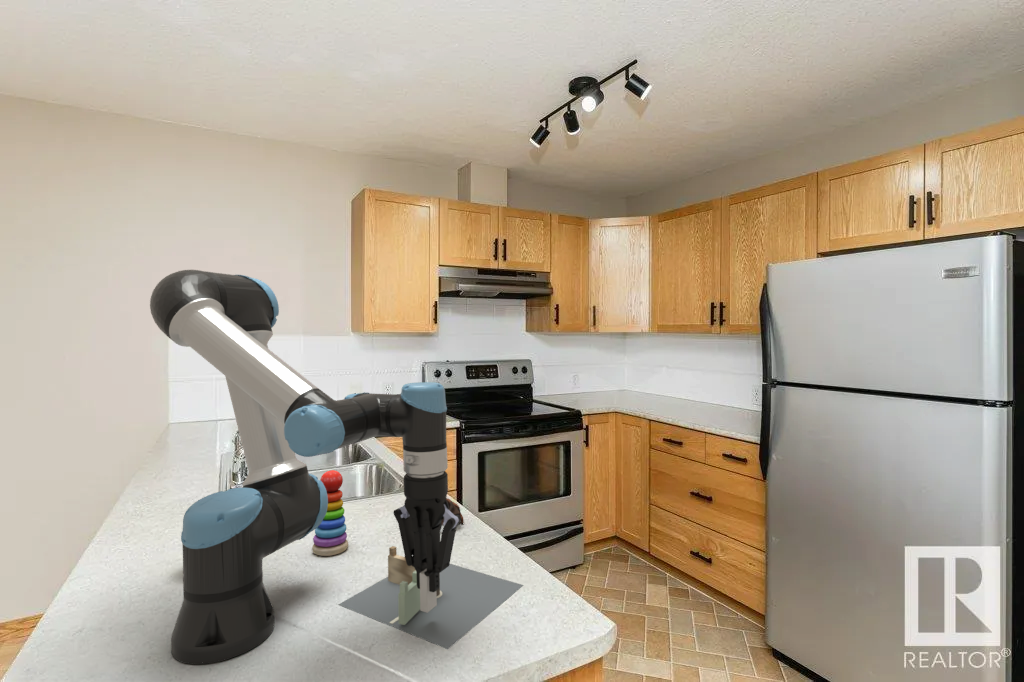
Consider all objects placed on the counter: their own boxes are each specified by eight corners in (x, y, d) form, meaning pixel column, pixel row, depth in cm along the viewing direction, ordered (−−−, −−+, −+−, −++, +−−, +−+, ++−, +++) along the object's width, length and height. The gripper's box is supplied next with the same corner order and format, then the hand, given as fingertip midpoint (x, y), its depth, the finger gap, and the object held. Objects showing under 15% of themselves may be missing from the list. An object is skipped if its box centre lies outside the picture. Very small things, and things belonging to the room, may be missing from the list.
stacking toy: (336, 558, 116) (335, 476, 115) (305, 556, 117) (304, 474, 117) (354, 544, 123) (353, 467, 123) (324, 542, 125) (323, 465, 125)
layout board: (447, 652, 81) (447, 648, 81) (338, 607, 95) (338, 603, 95) (523, 587, 102) (523, 584, 102) (424, 558, 115) (424, 555, 115)
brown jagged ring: (472, 528, 134) (462, 506, 131) (441, 550, 131) (430, 528, 127) (453, 504, 144) (443, 483, 141) (424, 524, 141) (413, 502, 137)
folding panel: (427, 595, 97) (426, 559, 97) (432, 596, 97) (432, 560, 97) (398, 623, 88) (398, 584, 88) (404, 625, 87) (404, 585, 87)
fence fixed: (442, 593, 99) (441, 553, 99) (434, 598, 97) (434, 557, 97) (394, 577, 105) (393, 539, 105) (386, 581, 104) (386, 543, 103)
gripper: (381, 473, 88) (384, 609, 88) (444, 482, 82) (447, 628, 82) (409, 463, 95) (412, 590, 95) (469, 470, 89) (472, 605, 89)
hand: (428, 607), depth 88 cm, fingers closed
